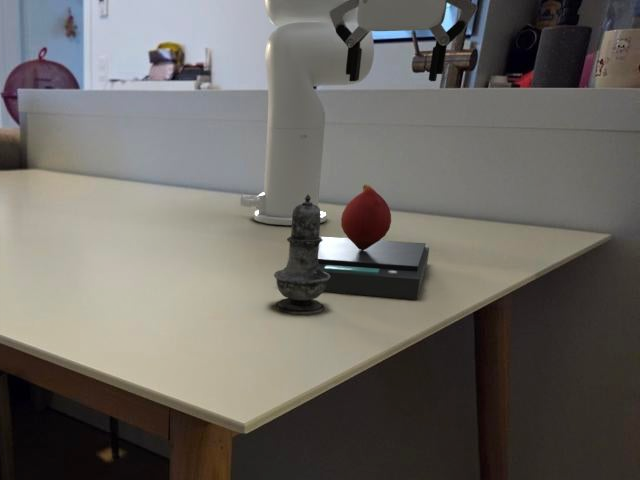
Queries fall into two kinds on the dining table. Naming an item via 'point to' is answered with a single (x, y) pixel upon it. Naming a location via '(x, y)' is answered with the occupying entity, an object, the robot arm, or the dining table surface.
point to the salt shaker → (302, 264)
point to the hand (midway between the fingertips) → (392, 80)
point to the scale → (373, 267)
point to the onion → (366, 218)
